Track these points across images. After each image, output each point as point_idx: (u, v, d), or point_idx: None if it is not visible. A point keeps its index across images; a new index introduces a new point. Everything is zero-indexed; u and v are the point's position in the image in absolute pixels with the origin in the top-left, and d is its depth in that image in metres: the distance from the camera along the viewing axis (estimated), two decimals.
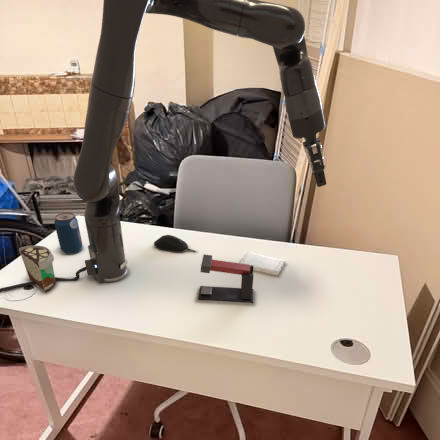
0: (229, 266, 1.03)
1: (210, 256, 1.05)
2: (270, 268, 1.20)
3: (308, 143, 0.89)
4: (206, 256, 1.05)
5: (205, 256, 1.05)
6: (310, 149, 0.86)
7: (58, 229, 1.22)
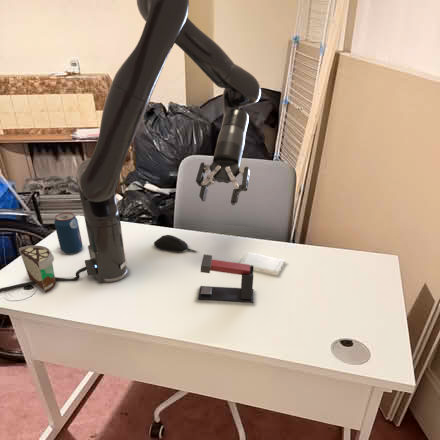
0: (229, 266, 1.03)
1: (210, 256, 1.05)
2: (270, 268, 1.20)
3: (238, 166, 1.07)
4: (206, 256, 1.05)
5: (205, 256, 1.05)
6: (248, 169, 1.06)
7: (58, 229, 1.22)
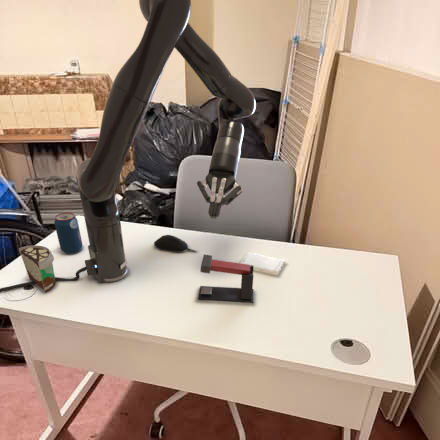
0: (229, 266, 1.03)
1: (210, 256, 1.05)
2: (270, 268, 1.20)
3: (234, 180, 1.06)
4: (206, 256, 1.05)
5: (205, 256, 1.05)
6: (240, 189, 1.05)
7: (58, 229, 1.22)
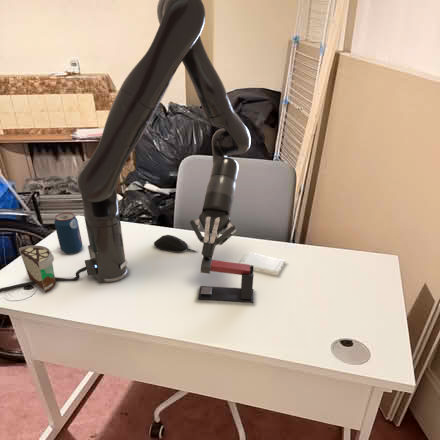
0: (229, 266, 1.03)
1: None
2: (270, 268, 1.20)
3: (228, 220, 1.03)
4: None
5: None
6: (234, 230, 1.03)
7: (58, 229, 1.22)
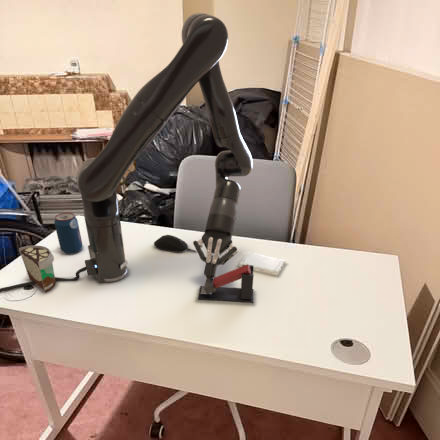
0: (229, 276, 1.05)
1: None
2: (270, 268, 1.20)
3: (230, 241, 1.07)
4: None
5: (207, 278, 1.09)
6: (235, 251, 1.06)
7: (58, 229, 1.22)
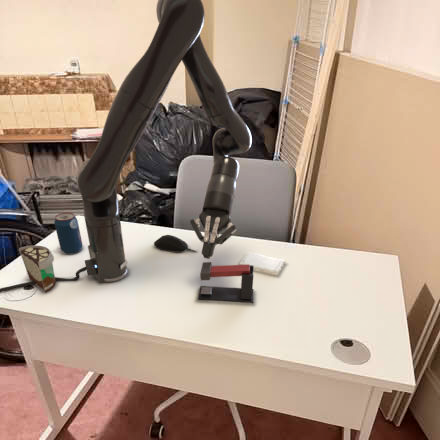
0: (228, 269, 1.03)
1: (209, 263, 1.06)
2: (270, 268, 1.20)
3: (229, 219, 1.03)
4: (205, 264, 1.06)
5: (204, 264, 1.06)
6: (234, 229, 1.02)
7: (58, 229, 1.22)
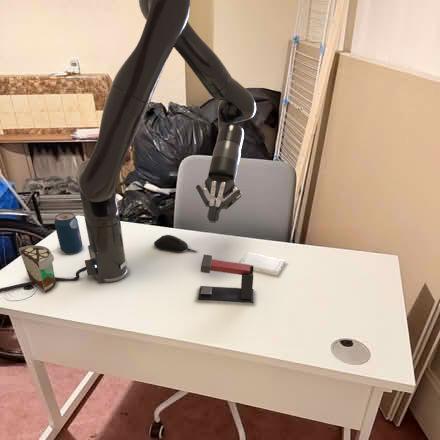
0: (229, 266, 1.03)
1: (210, 256, 1.05)
2: (270, 268, 1.20)
3: (234, 184, 1.05)
4: (206, 256, 1.05)
5: (205, 256, 1.05)
6: (239, 194, 1.04)
7: (58, 229, 1.22)
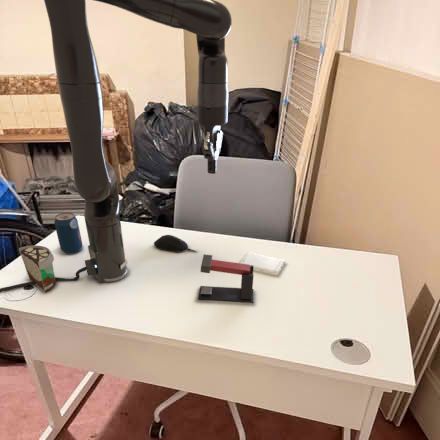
0: (229, 266, 1.03)
1: (210, 256, 1.05)
2: (270, 268, 1.20)
3: (204, 134, 0.98)
4: (206, 256, 1.05)
5: (205, 256, 1.05)
6: (202, 146, 0.98)
7: (58, 229, 1.22)
